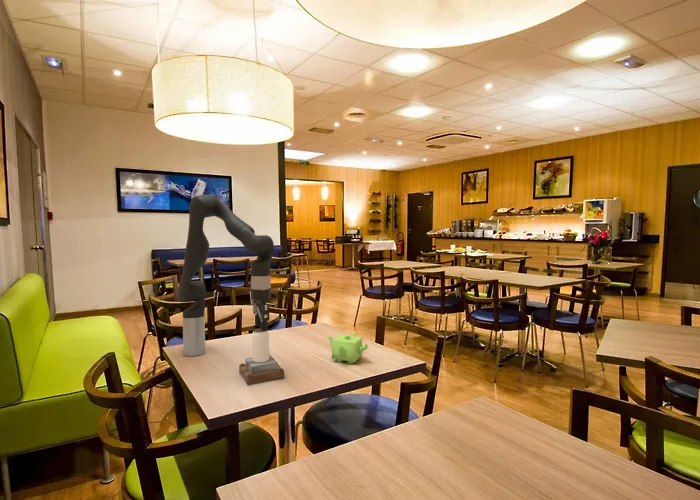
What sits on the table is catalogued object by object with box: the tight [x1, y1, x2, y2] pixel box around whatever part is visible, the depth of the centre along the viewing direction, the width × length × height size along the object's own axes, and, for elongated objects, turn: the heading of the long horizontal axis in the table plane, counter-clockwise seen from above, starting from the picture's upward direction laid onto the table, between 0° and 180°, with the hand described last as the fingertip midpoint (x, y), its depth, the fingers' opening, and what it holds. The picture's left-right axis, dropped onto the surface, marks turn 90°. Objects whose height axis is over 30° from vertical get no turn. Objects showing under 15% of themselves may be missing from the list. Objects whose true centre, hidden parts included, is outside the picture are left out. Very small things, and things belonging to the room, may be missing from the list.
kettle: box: [325, 332, 369, 365], centre depth 167 cm, size 15×14×11 cm
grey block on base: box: [238, 354, 285, 386], centre depth 150 cm, size 14×14×6 cm
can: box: [251, 327, 270, 363], centre depth 149 cm, size 6×6×12 cm
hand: (261, 328), depth 149 cm, fingers open, 8 cm apart
